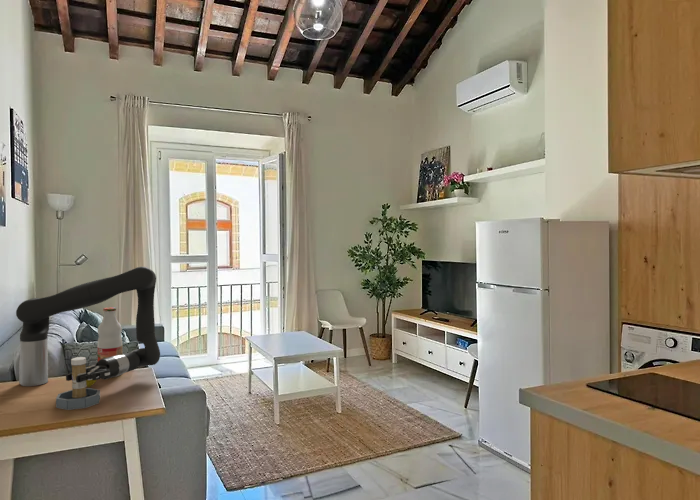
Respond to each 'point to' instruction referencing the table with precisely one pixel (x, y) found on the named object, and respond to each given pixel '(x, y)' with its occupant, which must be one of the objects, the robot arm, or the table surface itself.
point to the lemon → (90, 382)
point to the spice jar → (77, 370)
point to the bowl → (77, 399)
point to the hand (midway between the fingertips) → (72, 378)
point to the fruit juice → (109, 335)
